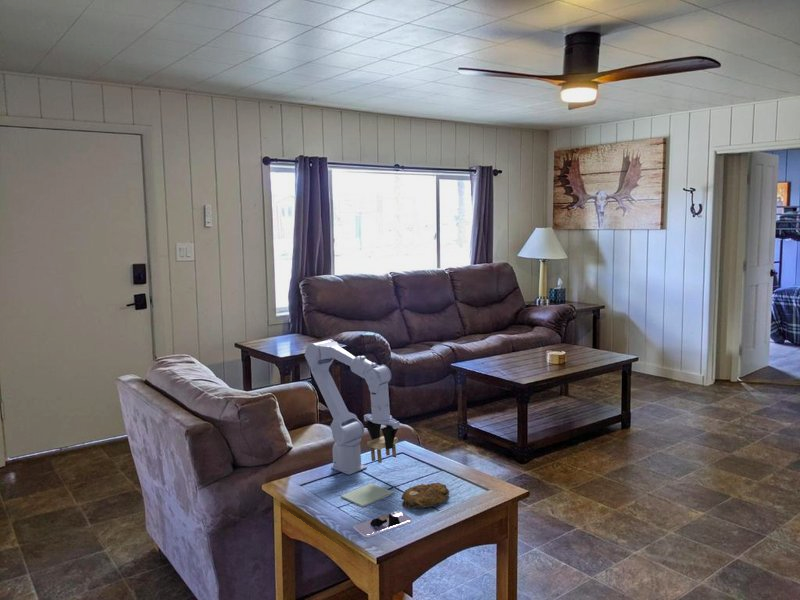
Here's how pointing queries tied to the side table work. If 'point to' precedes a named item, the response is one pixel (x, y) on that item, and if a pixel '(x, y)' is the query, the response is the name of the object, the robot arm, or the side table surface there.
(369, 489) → the mat
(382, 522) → the mobile phone
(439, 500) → the decorative rock
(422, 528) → the side table surface
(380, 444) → the tan block with pegs
